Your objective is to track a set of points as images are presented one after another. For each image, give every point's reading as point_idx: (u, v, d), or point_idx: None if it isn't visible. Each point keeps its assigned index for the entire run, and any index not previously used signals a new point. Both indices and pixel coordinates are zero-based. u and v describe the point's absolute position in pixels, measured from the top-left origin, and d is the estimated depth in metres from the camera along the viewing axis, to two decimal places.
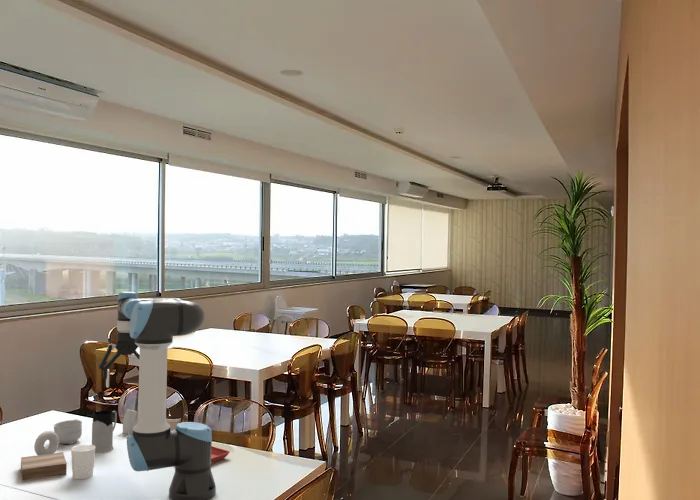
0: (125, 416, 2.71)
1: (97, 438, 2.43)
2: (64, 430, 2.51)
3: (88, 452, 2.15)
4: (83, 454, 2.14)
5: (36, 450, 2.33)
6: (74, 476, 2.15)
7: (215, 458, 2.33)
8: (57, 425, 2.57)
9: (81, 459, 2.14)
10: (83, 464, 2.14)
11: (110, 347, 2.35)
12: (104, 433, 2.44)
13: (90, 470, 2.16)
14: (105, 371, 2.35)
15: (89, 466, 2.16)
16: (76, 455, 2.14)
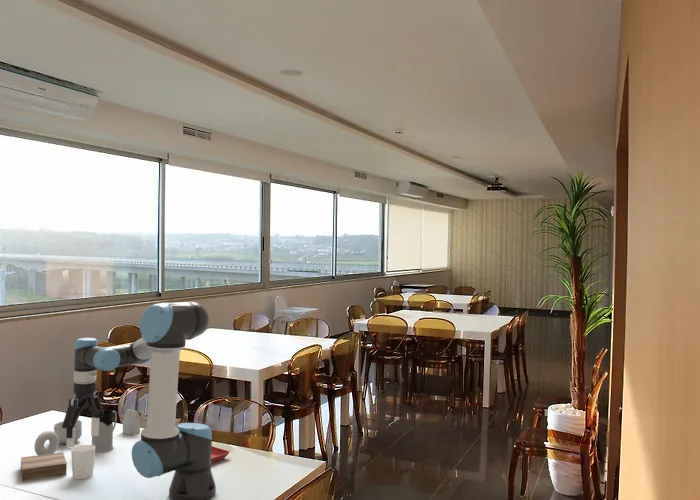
0: (125, 416, 2.71)
1: (97, 438, 2.43)
2: (64, 430, 2.51)
3: (88, 452, 2.15)
4: (83, 454, 2.14)
5: (36, 450, 2.33)
6: (74, 476, 2.15)
7: (215, 458, 2.33)
8: (57, 425, 2.57)
9: (81, 459, 2.14)
10: (83, 464, 2.14)
11: None
12: (104, 433, 2.44)
13: (90, 470, 2.16)
14: None
15: (89, 466, 2.16)
16: (76, 455, 2.14)
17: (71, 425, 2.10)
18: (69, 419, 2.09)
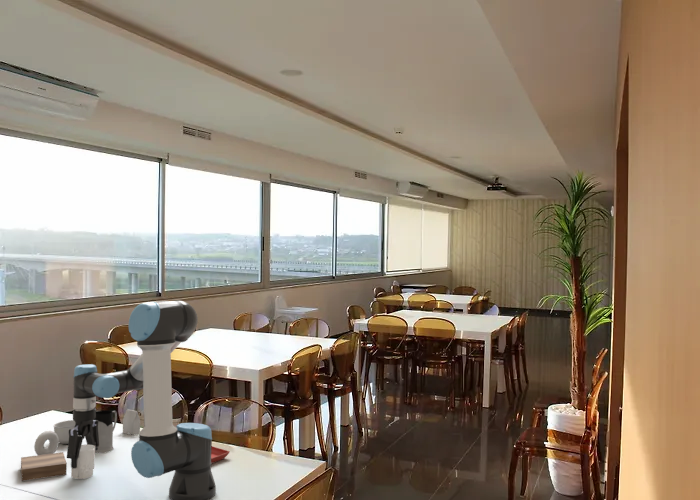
0: (125, 416, 2.71)
1: None
2: (64, 430, 2.51)
3: (88, 452, 2.15)
4: (83, 454, 2.14)
5: (36, 450, 2.33)
6: None
7: (215, 458, 2.33)
8: (57, 425, 2.57)
9: (81, 459, 2.14)
10: (83, 464, 2.14)
11: None
12: (104, 433, 2.44)
13: (90, 470, 2.16)
14: None
15: (89, 466, 2.16)
16: None
17: (75, 456, 2.12)
18: (72, 450, 2.11)
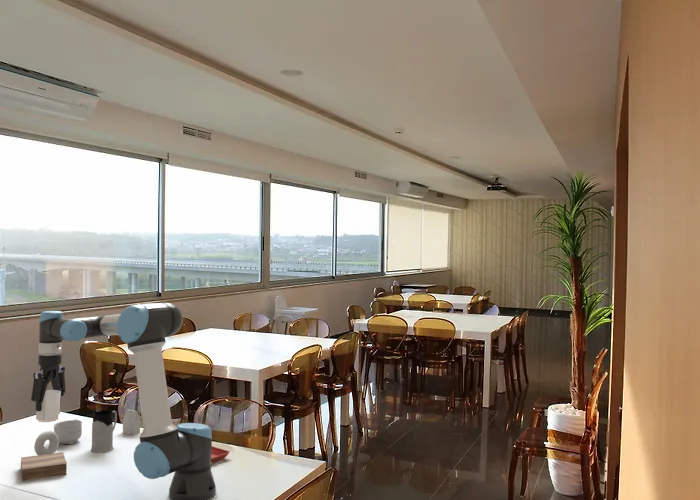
0: (125, 416, 2.71)
1: (97, 438, 2.43)
2: (64, 430, 2.51)
3: (53, 396, 2.19)
4: (48, 398, 2.18)
5: (36, 450, 2.33)
6: None
7: (215, 458, 2.33)
8: (57, 425, 2.57)
9: (45, 402, 2.18)
10: (48, 408, 2.18)
11: None
12: (104, 433, 2.44)
13: (55, 414, 2.20)
14: None
15: (54, 410, 2.19)
16: None
17: (40, 399, 2.16)
18: (37, 393, 2.14)
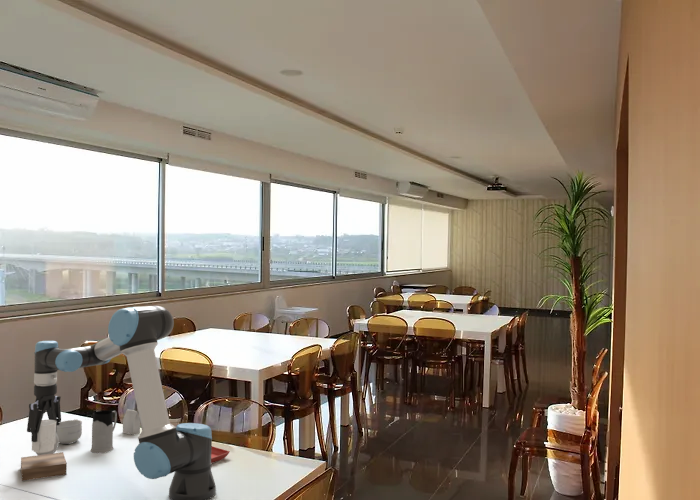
0: (125, 416, 2.71)
1: (97, 438, 2.43)
2: (64, 430, 2.51)
3: (49, 426, 2.19)
4: (43, 428, 2.18)
5: None
6: None
7: (215, 458, 2.33)
8: (57, 425, 2.57)
9: (41, 433, 2.18)
10: (44, 438, 2.18)
11: None
12: (104, 433, 2.44)
13: (51, 444, 2.20)
14: None
15: (50, 440, 2.19)
16: None
17: (35, 429, 2.16)
18: (32, 424, 2.14)
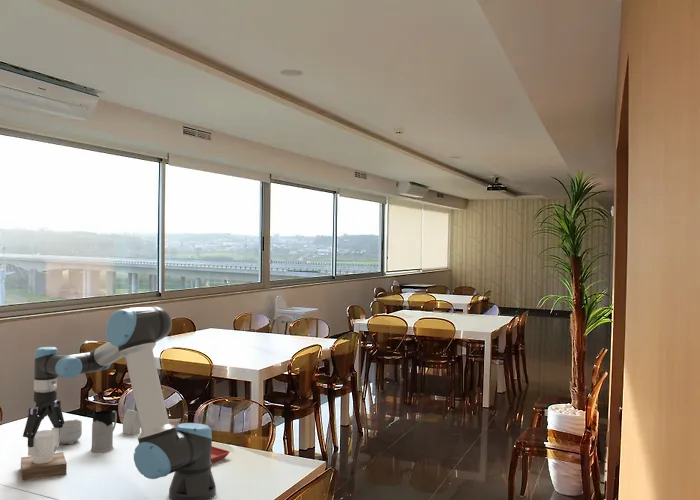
0: (125, 416, 2.71)
1: (97, 438, 2.43)
2: (64, 430, 2.51)
3: (48, 437, 2.18)
4: (43, 439, 2.17)
5: None
6: (34, 461, 2.18)
7: (215, 458, 2.33)
8: None
9: (40, 444, 2.17)
10: (43, 449, 2.17)
11: None
12: (104, 433, 2.44)
13: (50, 455, 2.20)
14: None
15: (49, 451, 2.19)
16: None
17: (32, 434, 2.14)
18: (29, 428, 2.13)
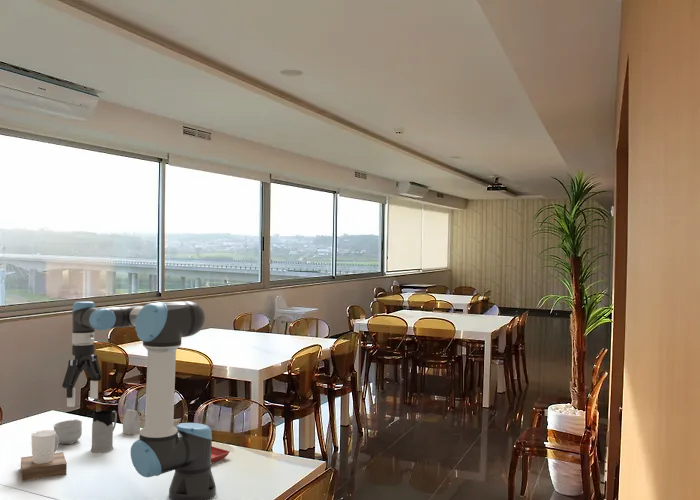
0: (125, 416, 2.71)
1: (97, 438, 2.43)
2: (64, 430, 2.51)
3: (48, 437, 2.18)
4: (43, 439, 2.17)
5: None
6: (34, 461, 2.18)
7: (215, 458, 2.33)
8: (57, 425, 2.57)
9: (40, 444, 2.17)
10: (43, 449, 2.17)
11: None
12: (104, 433, 2.44)
13: (50, 455, 2.20)
14: None
15: (49, 451, 2.19)
16: (36, 440, 2.17)
17: (71, 385, 2.14)
18: (69, 378, 2.13)
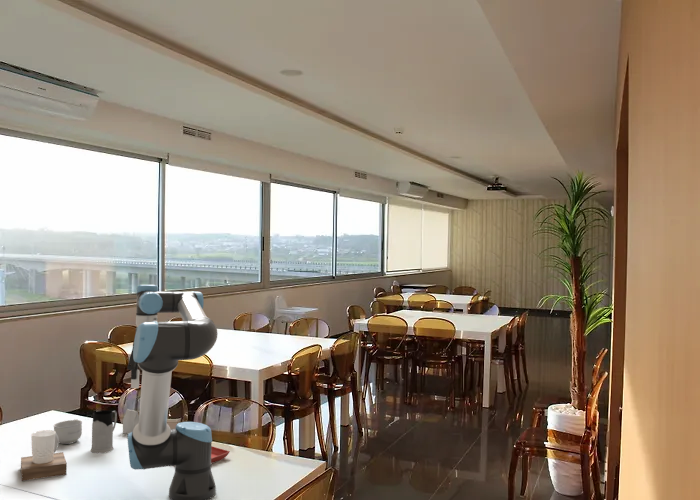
0: (125, 416, 2.71)
1: (97, 438, 2.43)
2: (64, 430, 2.51)
3: (48, 437, 2.18)
4: (43, 439, 2.17)
5: None
6: (34, 461, 2.18)
7: (215, 458, 2.33)
8: (57, 425, 2.57)
9: (40, 444, 2.17)
10: (43, 449, 2.17)
11: None
12: (104, 433, 2.44)
13: (50, 455, 2.20)
14: None
15: (49, 451, 2.19)
16: (36, 440, 2.17)
17: (135, 366, 2.17)
18: (134, 360, 2.16)
